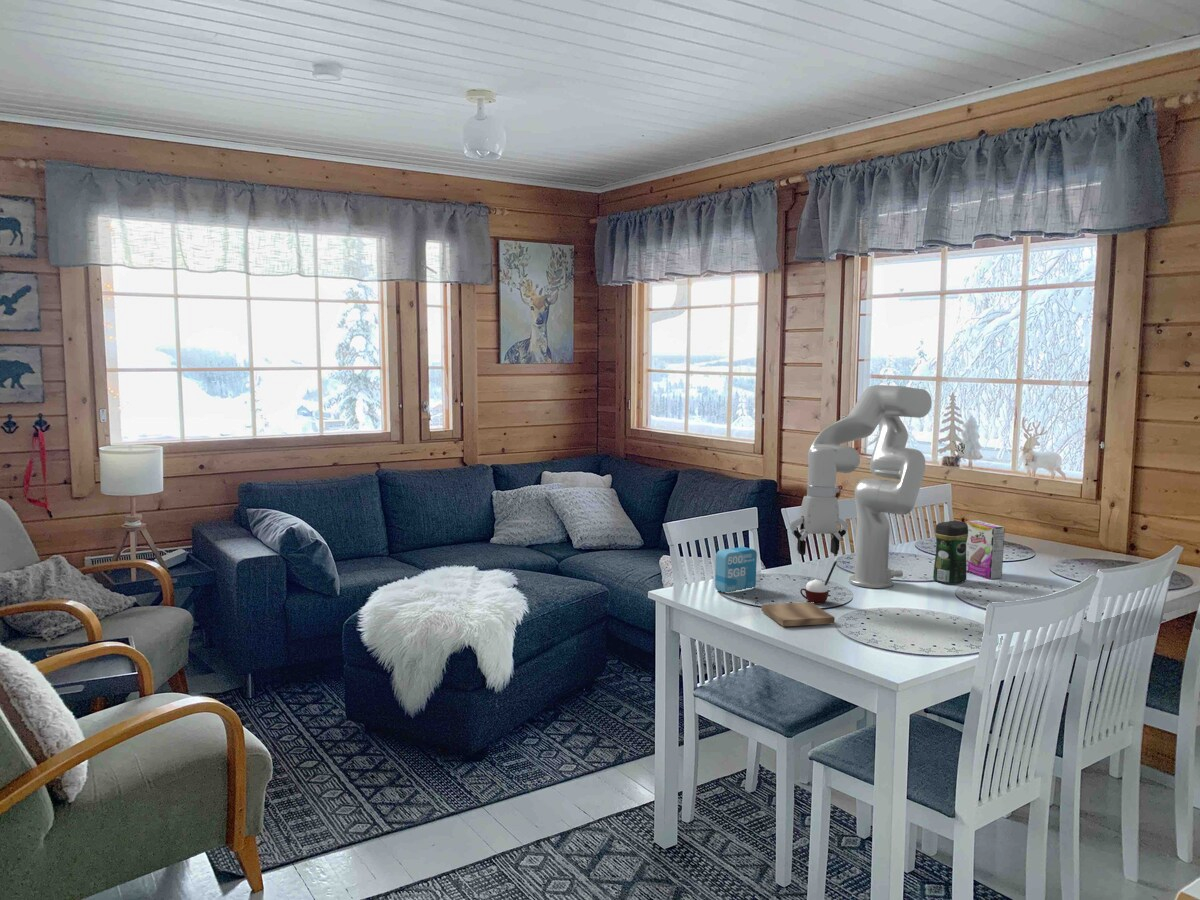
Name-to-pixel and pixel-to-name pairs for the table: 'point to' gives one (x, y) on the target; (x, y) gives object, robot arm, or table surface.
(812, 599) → the cocoa
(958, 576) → the coffee jar
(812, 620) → the stand
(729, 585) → the data package
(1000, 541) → the candy bar box
